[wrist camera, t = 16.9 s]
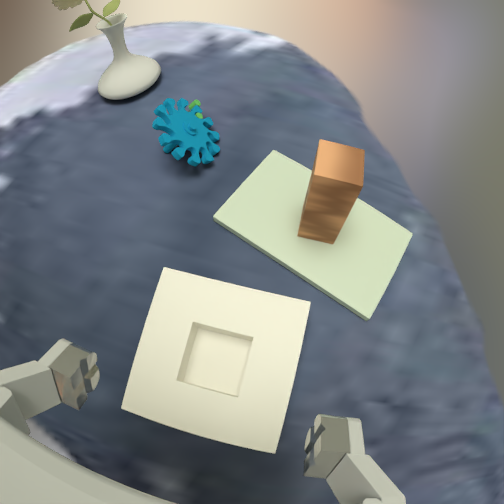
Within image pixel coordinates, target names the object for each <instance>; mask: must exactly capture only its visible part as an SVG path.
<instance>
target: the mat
mask: <svg viewBox="0 0 504 504" xmlns="http://www.w3.org/2000/svg"><path fill="white" fill-rule="evenodd" d="M311 173H312V171H311V170H310V169H308V168H306V167H304V166H302V165H301V164H299V163H297V162H295V161H293V160H292V159H290V158H288V157H286V156H284V155H282V154H280V153H279V152H277V151H275V150H273V151H272V152H271V153H270V154H269V155H268V156H267V157H266V158H265V160H264V161H263V162H262V163H261V164H260V165H259V166H258V167H257V168H256V169H255V170H254V171H253V172H252V174H251V175H250V176H249V177H248V178H247V179H246V180H245V181H244V182H243V183H242V185H241V186H240V187H239V188H238V189H237V190H236V191H235V192H234V193H233V194H232V196H231V197H230V198H229V199H228V200H227V201H226V202H225V203H224V205H223V206H222V207H221V208H220V209H219V210H218V211H217V212H216V214H215V215H214V216H213V219H214V221H215V222H217V223H218V224H220V225H221V226H223V227H224V228H226V229H227V230H229V231H230V232H232V233H233V234H235V235H236V236H238V237H239V238H241V239H243V240H244V241H246V242H247V243H249V244H250V245H252V246H253V247H255V248H256V249H258V250H259V251H261V252H262V253H264V254H265V255H267V256H268V257H270V258H271V259H273V260H275V261H276V262H278V263H279V264H281V265H282V266H284V267H285V268H287V269H288V270H290V271H291V272H293V273H294V274H296V275H297V276H299V277H300V278H302V279H303V280H305V281H306V282H308V283H309V284H311V285H313V286H314V287H316V288H317V289H319V290H320V291H322V292H323V293H325V294H326V295H328V296H329V297H331V298H332V299H334V300H335V301H337V302H338V303H340V304H341V305H343V306H344V307H346V308H347V309H349V310H350V311H352V312H353V313H355V314H356V315H358V316H359V317H361V318H362V319H364V320H365V321H367V320H369V319H370V317H371V316H372V314H373V312H374V310H375V308H376V307H377V305H378V303H379V301H380V299H381V297H382V295H383V294H384V292H385V290H386V288H387V286H388V284H389V282H390V280H391V278H392V276H393V274H394V272H395V270H396V268H397V266H398V264H399V262H400V260H401V258H402V256H403V254H404V252H405V250H406V247H407V245H408V243H409V241H410V239H411V237H412V233H411V232H409V231H408V230H406V229H405V228H403V227H402V226H400V225H399V224H397V223H396V222H394V221H393V220H391V219H390V218H388V217H387V216H385V215H384V214H382V213H381V212H379V211H377V210H376V209H374V208H373V207H371V206H370V205H368V204H366V203H365V202H363V201H362V200H360V199H358V198H357V199H356V201H355V203H354V205H353V207H352V209H351V211H350V213H349V215H348V217H347V219H346V221H345V223H344V225H343V227H342V229H341V230H340V232H339V234H338V236H337V238H336V240H335V242H334V244H329V243H324V242H320V241H315V240H311V239H306V238H302V237H298V236H297V235H298V230H299V225H300V220H301V214H302V209H303V204H304V201H305V197H306V193H307V189H308V185H309V181H310V177H311Z"/></svg>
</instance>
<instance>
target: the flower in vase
mask: <svg viewBox="0 0 504 504" xmlns="http://www.w3.org/2000/svg"><path fill="white" fill-rule="evenodd" d="M82 1H83V0H52V3H53V4H54V6H56V7H57V6H59V7H58V9H59V10H62V9H63V10H66V9H68V8H69V7H71V8H73V7H75V6H77V5H79V4H81V3H82ZM85 2H86V4H87V6H88V7H89V9H90V11H91V12H92V13H89V14H84V15H81V16H79V17H78V18H77V19H76V20H75V21H74V23H73V24H72V26H71V28H70V30H69V31H72V30H74V29H77V28H80V27H83V26H85V25H87V24H88V23H89V21H90V19H91V18H92V16H93V14H95V15H96V16H98V17H100V18H102V19H103V20H101V21H100V22H99V23H98V24H97V25H96V28H97V29H99V30H101V31H102V32H103V33H104V34H105V35H106V36H107V38H108V40H109V42H110V44H111V46H112V49H113V53H114V60H113V62H112V63H111V64H110V66H109V67H108V68H107V69H106V70H105V72H104V73H103V75H102V76H101V78H100V80H99V83H98V92H99V94H100V95H101V96H103V97H105V98H107V99H113V100H118V99H125V98H129V97H132V96H135V95H137V94H139V93H141V92H143V91H145V90H146V89H148V88H149V87H150V86H152V85H153V84H154V83H155V82H156V80H157V79H158V77H159V75H160V72H161V68H160V66H159V64H158V63H157V62H156V61H155V60H153V59H151V58H148V57H145V56H140V55H135V54H131V53H130V52H129V51H128V49H127V47H126V44H125V40H124V34H123V27H124V22H125V20H126V18H127V15H126V14H115V15H112V16H109V17H107V18H104V17H106V16H108V15H109V14H111V13H112V12H114V11H115V10H116V9H117V8H118V6H119V4H120V0H112V1H111V2H110V3H108V4H107V5H106V6H105V7H104V9H103V16H104V17H102V16H100V15H99V14H97V13H96V12H94V11H93V10H92V8H91V7H90V5H89V4H88V2H87V0H85Z"/></svg>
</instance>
